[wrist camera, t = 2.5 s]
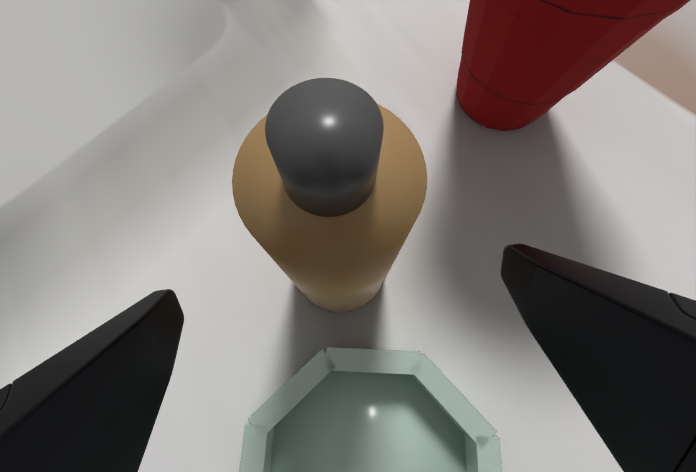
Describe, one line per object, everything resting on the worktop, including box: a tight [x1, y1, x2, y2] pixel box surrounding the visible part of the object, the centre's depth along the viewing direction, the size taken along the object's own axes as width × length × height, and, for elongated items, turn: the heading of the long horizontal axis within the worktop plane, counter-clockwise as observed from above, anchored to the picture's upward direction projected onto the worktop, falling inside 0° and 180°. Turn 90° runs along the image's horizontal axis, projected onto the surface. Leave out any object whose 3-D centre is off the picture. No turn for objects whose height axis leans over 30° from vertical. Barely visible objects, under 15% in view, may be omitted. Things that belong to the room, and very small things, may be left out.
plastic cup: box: [457, 0, 690, 130], centre depth 17 cm, size 11×11×12 cm
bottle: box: [232, 78, 427, 312], centre depth 13 cm, size 5×5×13 cm
